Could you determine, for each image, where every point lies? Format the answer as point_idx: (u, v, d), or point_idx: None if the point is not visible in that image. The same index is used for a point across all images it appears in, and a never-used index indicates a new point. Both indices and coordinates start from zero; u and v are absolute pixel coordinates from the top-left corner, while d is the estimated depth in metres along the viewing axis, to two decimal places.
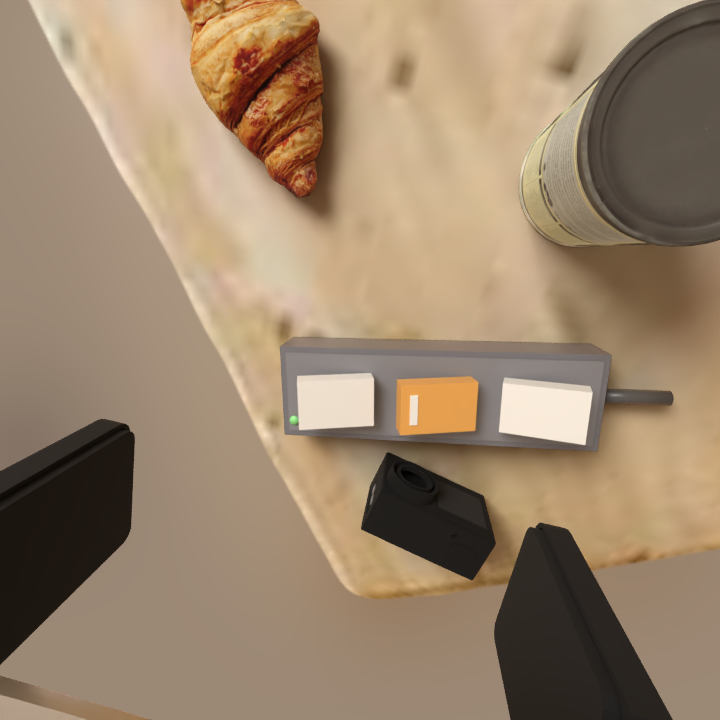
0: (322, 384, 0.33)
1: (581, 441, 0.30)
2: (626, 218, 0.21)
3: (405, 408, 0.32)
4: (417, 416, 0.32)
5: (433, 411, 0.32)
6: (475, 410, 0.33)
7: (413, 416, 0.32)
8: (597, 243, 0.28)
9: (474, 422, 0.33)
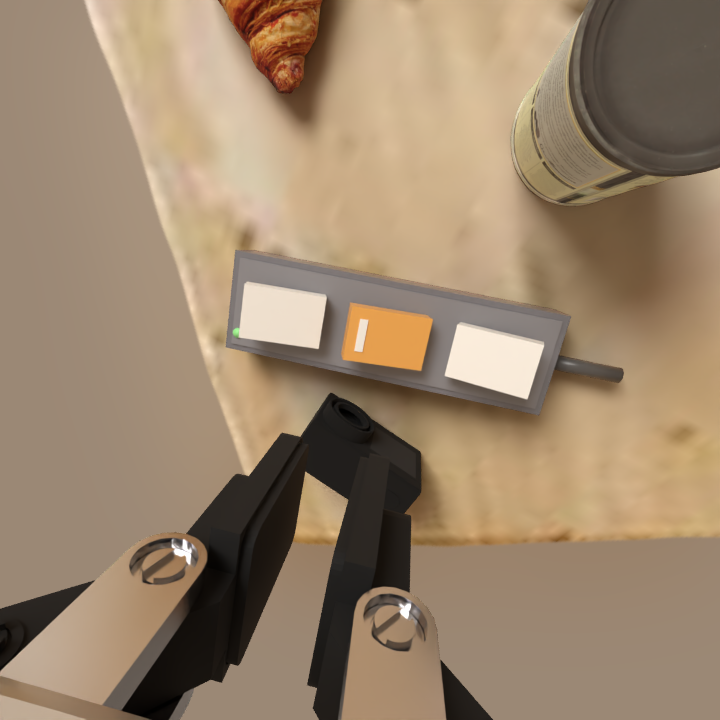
0: (271, 292, 0.31)
1: (524, 395, 0.30)
2: (607, 132, 0.19)
3: (352, 332, 0.30)
4: (363, 343, 0.30)
5: (381, 341, 0.31)
6: (424, 349, 0.31)
7: (359, 341, 0.30)
8: (577, 187, 0.27)
9: (421, 361, 0.31)
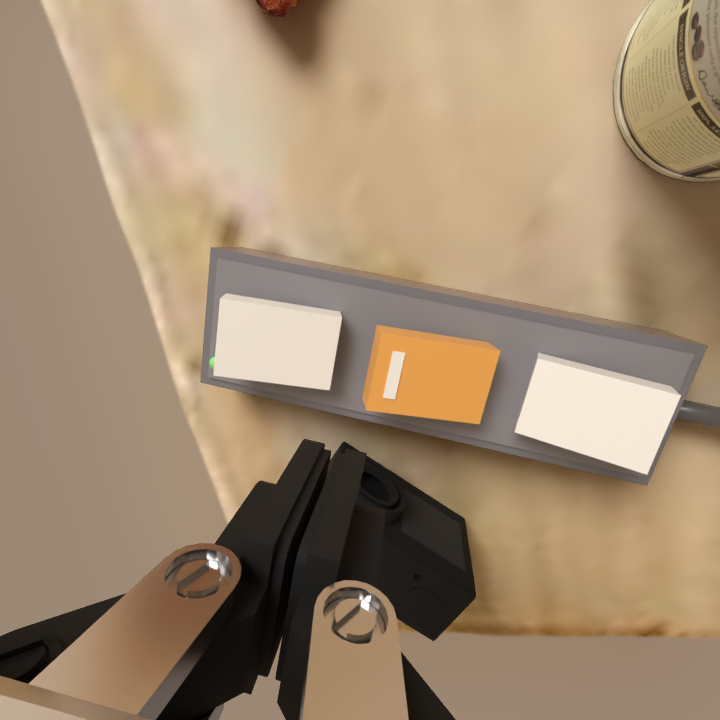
0: (260, 310, 0.21)
1: (642, 468, 0.20)
2: None
3: (381, 370, 0.20)
4: (397, 386, 0.20)
5: (423, 383, 0.21)
6: (486, 393, 0.21)
7: (391, 384, 0.20)
8: None
9: (481, 411, 0.21)
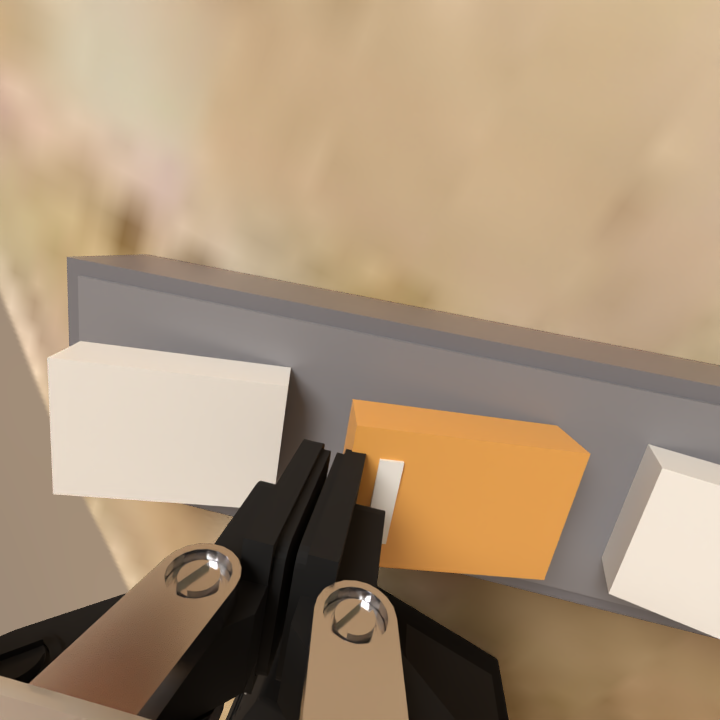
0: (130, 378, 0.11)
1: None
2: None
3: (358, 494, 0.10)
4: (390, 521, 0.11)
5: (440, 513, 0.11)
6: (559, 528, 0.11)
7: None
8: None
9: (548, 558, 0.12)
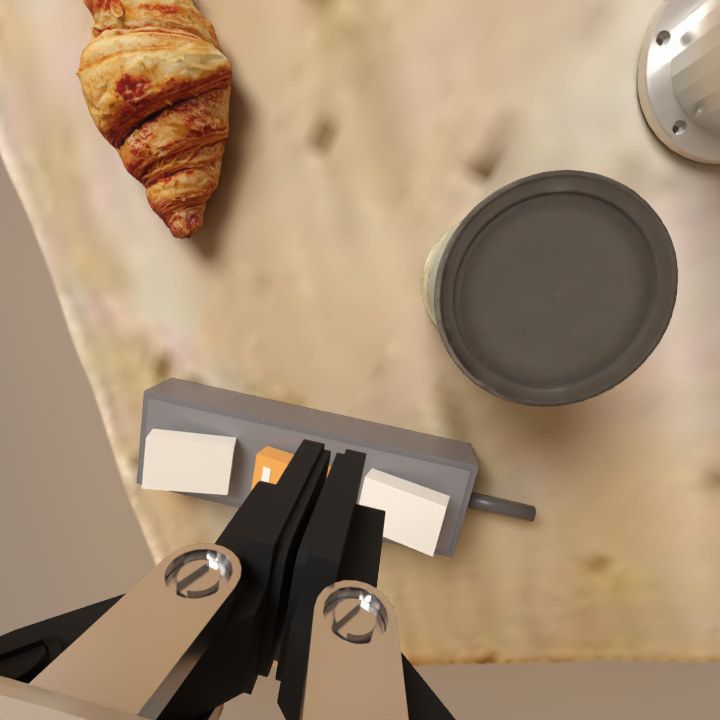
0: (175, 444, 0.30)
1: (429, 552, 0.29)
2: (470, 365, 0.19)
3: (257, 478, 0.31)
4: None
5: None
6: None
7: None
8: None
9: None
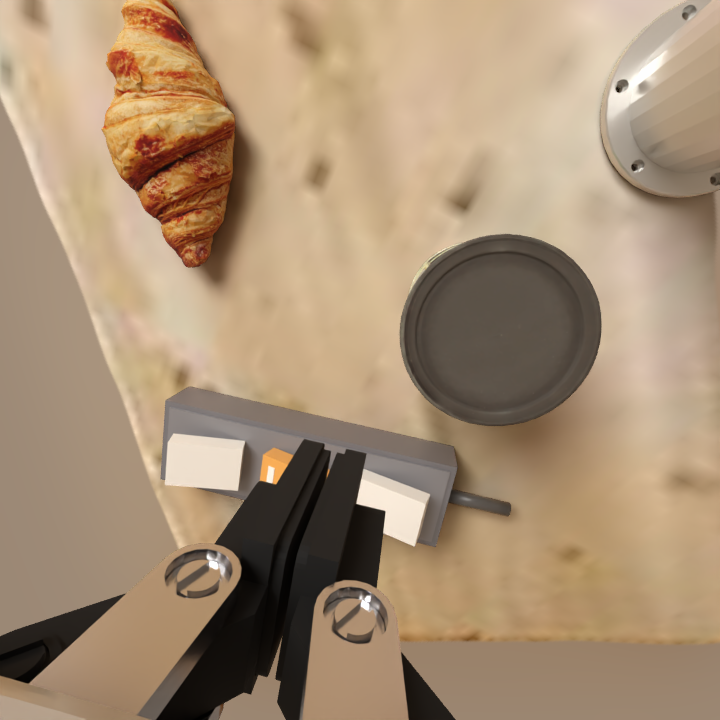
0: (192, 448, 0.35)
1: (412, 542, 0.34)
2: (431, 391, 0.23)
3: (263, 475, 0.36)
4: None
5: None
6: None
7: None
8: None
9: None
